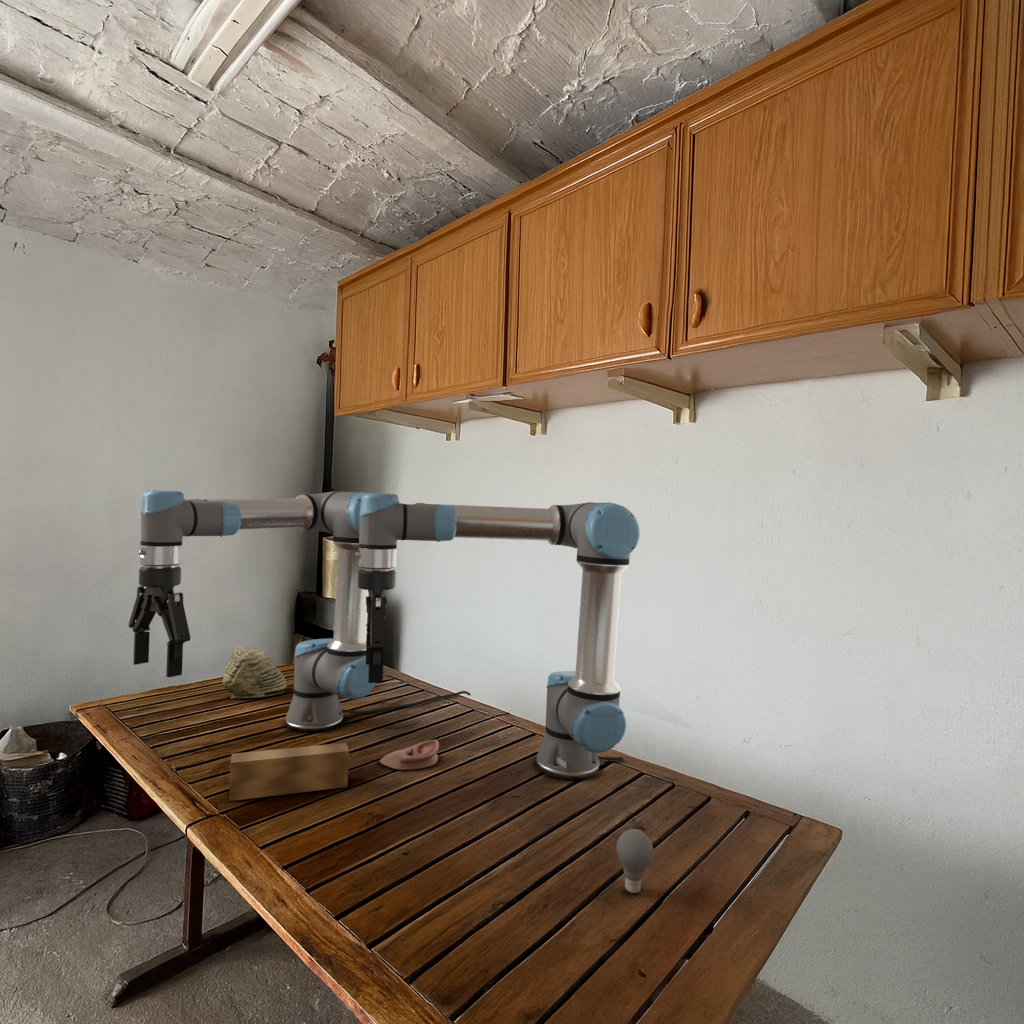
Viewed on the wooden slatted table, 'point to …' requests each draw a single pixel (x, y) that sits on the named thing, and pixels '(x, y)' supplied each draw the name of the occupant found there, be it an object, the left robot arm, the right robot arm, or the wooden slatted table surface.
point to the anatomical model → (413, 756)
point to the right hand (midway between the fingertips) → (373, 672)
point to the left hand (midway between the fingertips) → (157, 669)
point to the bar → (288, 771)
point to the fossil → (252, 674)
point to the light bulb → (634, 857)
